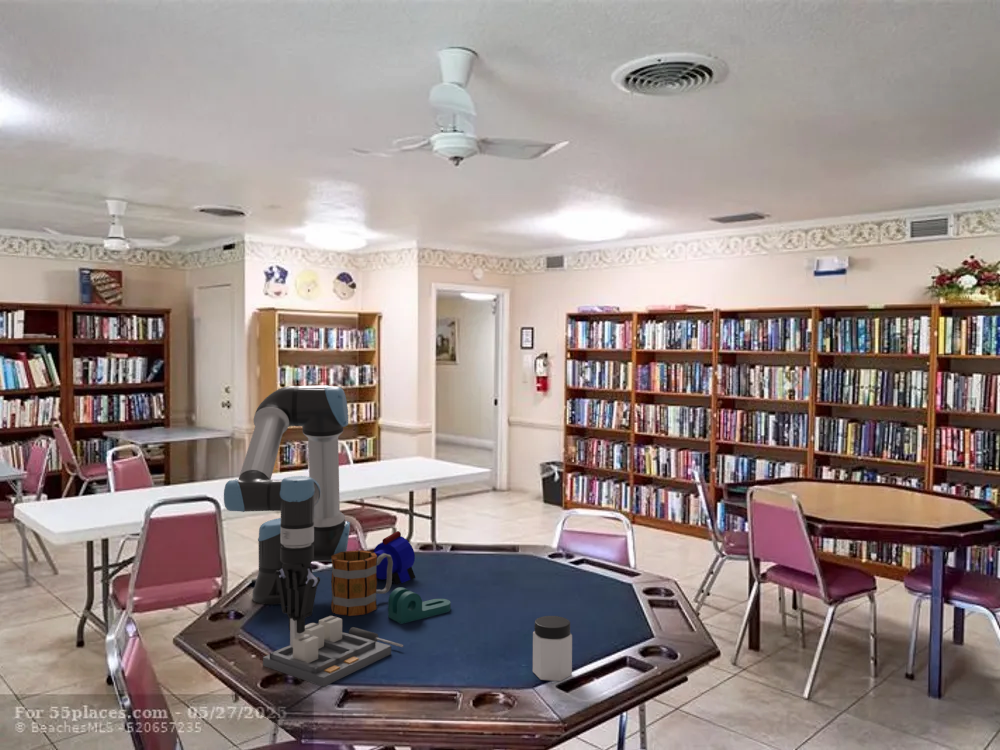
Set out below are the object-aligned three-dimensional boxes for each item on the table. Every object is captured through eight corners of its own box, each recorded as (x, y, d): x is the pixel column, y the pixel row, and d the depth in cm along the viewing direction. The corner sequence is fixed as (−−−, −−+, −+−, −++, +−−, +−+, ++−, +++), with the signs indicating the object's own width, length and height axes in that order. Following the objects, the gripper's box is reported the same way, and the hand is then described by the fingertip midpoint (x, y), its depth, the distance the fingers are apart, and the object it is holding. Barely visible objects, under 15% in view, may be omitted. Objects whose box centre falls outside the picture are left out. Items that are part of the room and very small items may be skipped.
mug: (345, 619, 205) (345, 565, 205) (321, 607, 215) (321, 555, 215) (404, 604, 218) (404, 553, 218) (379, 593, 228) (379, 544, 228)
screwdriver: (348, 637, 191) (348, 628, 191) (355, 635, 193) (355, 625, 193) (399, 652, 182) (399, 642, 182) (405, 649, 184) (405, 639, 184)
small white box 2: (318, 640, 183) (318, 619, 183) (330, 635, 187) (330, 615, 187) (330, 643, 181) (330, 622, 181) (342, 638, 184) (342, 618, 184)
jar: (549, 662, 176) (549, 612, 176) (577, 672, 171) (578, 620, 171) (525, 675, 169) (526, 622, 169) (554, 685, 164) (555, 631, 164)
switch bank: (262, 665, 174) (262, 652, 174) (332, 636, 192) (332, 624, 192) (323, 686, 163) (323, 672, 163) (391, 653, 181) (391, 640, 181)
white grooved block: (299, 648, 178) (299, 626, 178) (312, 642, 182) (312, 622, 182) (311, 651, 176) (311, 630, 176) (324, 646, 179) (324, 625, 179)
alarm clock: (416, 577, 245) (417, 532, 245) (392, 586, 235) (392, 539, 235) (388, 571, 252) (388, 527, 251) (363, 580, 241) (363, 534, 241)
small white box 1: (292, 660, 171) (292, 638, 171) (306, 655, 174) (306, 633, 174) (304, 664, 169) (305, 642, 169) (318, 658, 172) (318, 636, 172)
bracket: (401, 624, 202) (401, 595, 202) (388, 617, 207) (388, 589, 207) (455, 610, 213) (455, 583, 213) (441, 604, 218) (441, 578, 218)
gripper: (265, 543, 173) (265, 644, 173) (304, 551, 166) (303, 657, 166) (290, 537, 179) (290, 634, 179) (329, 544, 172) (328, 646, 172)
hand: (296, 645), depth 173 cm, fingers closed
